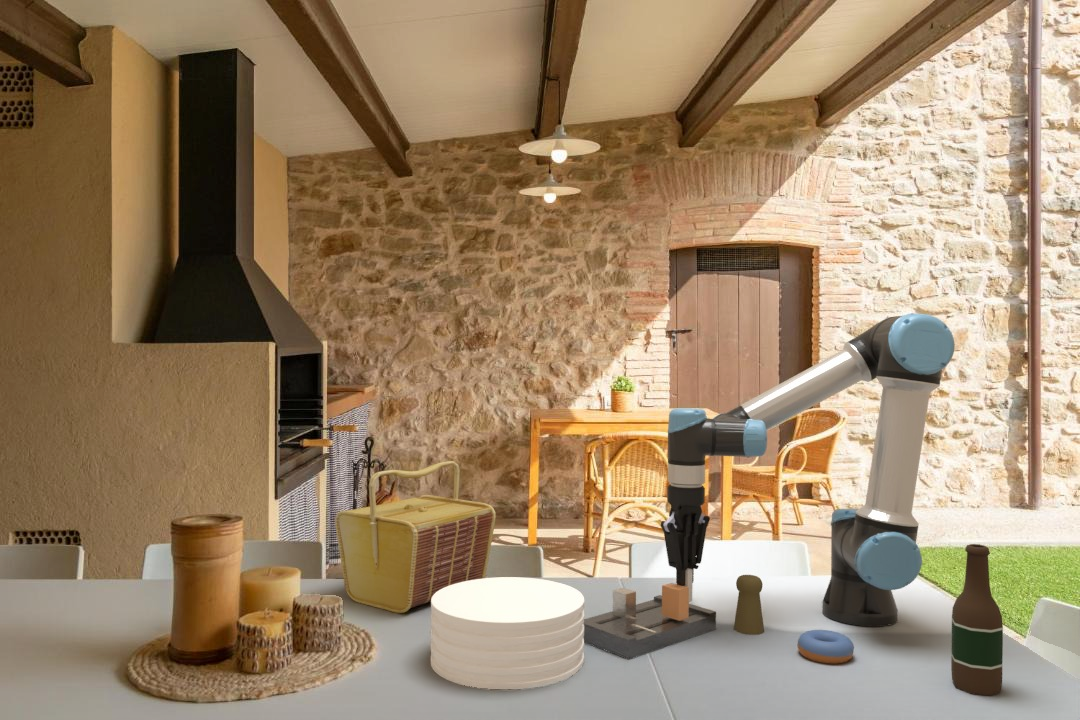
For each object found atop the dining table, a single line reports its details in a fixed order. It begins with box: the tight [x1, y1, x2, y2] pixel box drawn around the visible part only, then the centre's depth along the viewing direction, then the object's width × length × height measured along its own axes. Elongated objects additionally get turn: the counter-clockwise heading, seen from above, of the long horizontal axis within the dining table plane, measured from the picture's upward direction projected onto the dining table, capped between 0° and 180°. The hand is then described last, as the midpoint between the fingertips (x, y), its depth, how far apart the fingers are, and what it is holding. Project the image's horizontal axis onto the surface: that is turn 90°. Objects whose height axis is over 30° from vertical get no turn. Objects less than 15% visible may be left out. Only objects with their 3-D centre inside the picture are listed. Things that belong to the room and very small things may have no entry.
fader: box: [661, 582, 690, 621], centre depth 164 cm, size 4×3×6 cm
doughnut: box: [797, 629, 855, 665], centre depth 153 cm, size 10×10×5 cm
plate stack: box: [430, 576, 585, 690], centre depth 150 cm, size 28×28×12 cm
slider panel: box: [583, 587, 717, 660], centre depth 165 cm, size 15×26×8 cm, turn 131°
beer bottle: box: [950, 543, 1004, 697], centre depth 139 cm, size 8×8×24 cm
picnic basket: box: [334, 460, 497, 614], centre depth 190 cm, size 29×26×30 cm
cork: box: [733, 574, 765, 636], centre depth 167 cm, size 6×6×11 cm
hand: (684, 600), depth 167 cm, fingers closed
